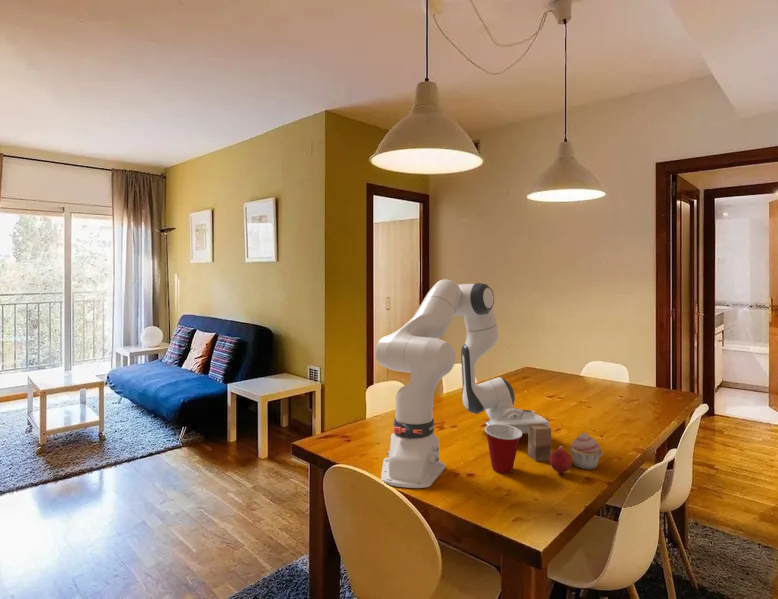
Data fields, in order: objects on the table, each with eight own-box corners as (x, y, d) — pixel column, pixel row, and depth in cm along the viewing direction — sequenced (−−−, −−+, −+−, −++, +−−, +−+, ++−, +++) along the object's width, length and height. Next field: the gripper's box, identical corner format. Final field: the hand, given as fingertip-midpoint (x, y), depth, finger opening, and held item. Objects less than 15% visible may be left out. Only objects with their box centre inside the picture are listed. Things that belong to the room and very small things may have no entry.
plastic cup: (505, 481, 129) (505, 438, 129) (476, 468, 138) (476, 428, 138) (530, 471, 136) (530, 430, 135) (500, 459, 145) (501, 421, 144)
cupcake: (608, 472, 135) (608, 438, 135) (575, 471, 135) (576, 438, 135) (594, 459, 145) (595, 427, 144) (564, 459, 145) (564, 427, 144)
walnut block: (550, 460, 144) (551, 428, 143) (535, 461, 143) (535, 429, 143) (542, 454, 149) (543, 423, 148) (528, 455, 148) (528, 424, 148)
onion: (563, 479, 130) (563, 451, 130) (545, 472, 135) (545, 445, 134) (575, 474, 134) (575, 447, 133) (557, 468, 138) (557, 441, 138)
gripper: (483, 413, 165) (498, 425, 151) (537, 410, 168) (557, 422, 154) (483, 430, 165) (498, 444, 151) (537, 427, 168) (557, 440, 155)
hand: (528, 433), depth 153 cm, fingers open, 8 cm apart
